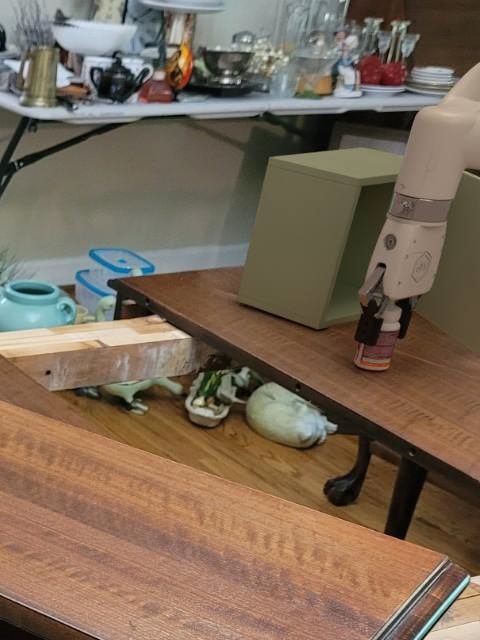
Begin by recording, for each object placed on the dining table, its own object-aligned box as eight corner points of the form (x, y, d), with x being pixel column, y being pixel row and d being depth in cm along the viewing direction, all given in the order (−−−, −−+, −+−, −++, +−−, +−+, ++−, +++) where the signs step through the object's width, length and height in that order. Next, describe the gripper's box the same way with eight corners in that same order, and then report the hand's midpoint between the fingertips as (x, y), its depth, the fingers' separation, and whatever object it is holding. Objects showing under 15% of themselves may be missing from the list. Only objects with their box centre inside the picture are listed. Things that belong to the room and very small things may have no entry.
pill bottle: (396, 369, 156) (412, 311, 151) (367, 372, 155) (383, 314, 150) (374, 358, 160) (389, 301, 155) (346, 361, 159) (361, 303, 154)
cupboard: (407, 308, 183) (452, 166, 171) (317, 329, 170) (359, 178, 158) (326, 282, 193) (363, 147, 181) (236, 300, 181) (269, 156, 169)
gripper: (407, 221, 139) (366, 358, 148) (480, 209, 148) (437, 338, 157) (356, 208, 144) (319, 341, 153) (430, 196, 153) (390, 323, 162)
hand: (379, 338), depth 155 cm, fingers open, 6 cm apart
